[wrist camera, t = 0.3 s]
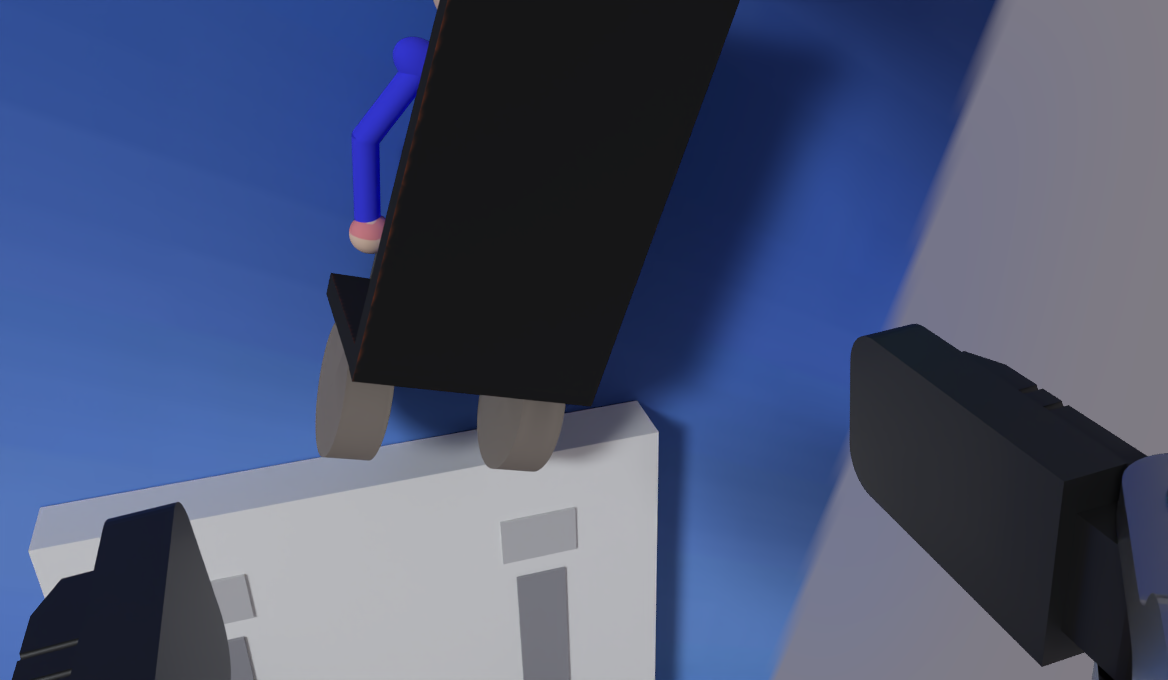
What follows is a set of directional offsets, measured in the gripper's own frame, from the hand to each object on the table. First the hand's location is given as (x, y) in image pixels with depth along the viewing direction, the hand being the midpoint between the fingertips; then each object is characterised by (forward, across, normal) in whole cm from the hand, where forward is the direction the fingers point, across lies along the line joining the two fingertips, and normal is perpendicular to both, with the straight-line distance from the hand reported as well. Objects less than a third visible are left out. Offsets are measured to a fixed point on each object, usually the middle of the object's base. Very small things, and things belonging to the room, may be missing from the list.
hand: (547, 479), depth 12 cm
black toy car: (+18, -2, +1) cm, 18 cm away
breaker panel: (+19, +3, +20) cm, 27 cm away
